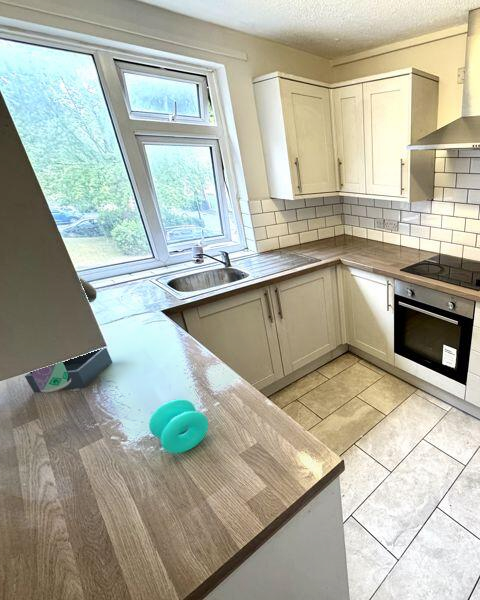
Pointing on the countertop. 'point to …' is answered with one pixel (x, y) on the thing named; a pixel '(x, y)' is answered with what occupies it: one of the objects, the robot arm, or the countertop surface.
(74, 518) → the countertop surface
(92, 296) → the robot arm
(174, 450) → the turquoise spool
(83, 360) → the bin
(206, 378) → the countertop surface
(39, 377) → the spray can
